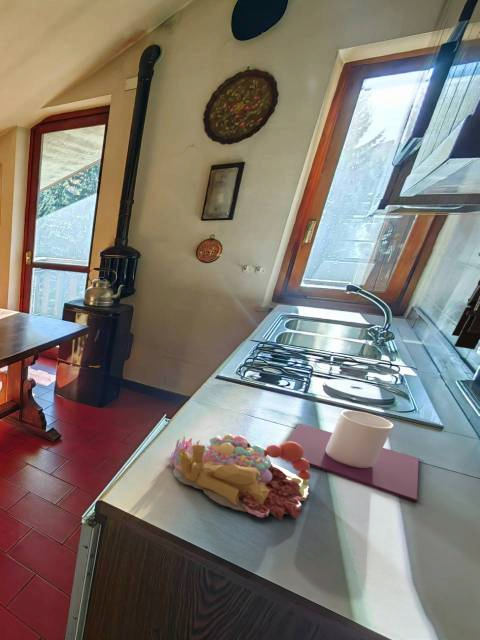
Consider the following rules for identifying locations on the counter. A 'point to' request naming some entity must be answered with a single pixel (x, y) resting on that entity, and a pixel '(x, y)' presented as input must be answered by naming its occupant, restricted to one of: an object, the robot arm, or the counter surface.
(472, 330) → the robot arm
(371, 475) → the mat
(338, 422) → the cup
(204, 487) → the food platter
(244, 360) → the counter surface
